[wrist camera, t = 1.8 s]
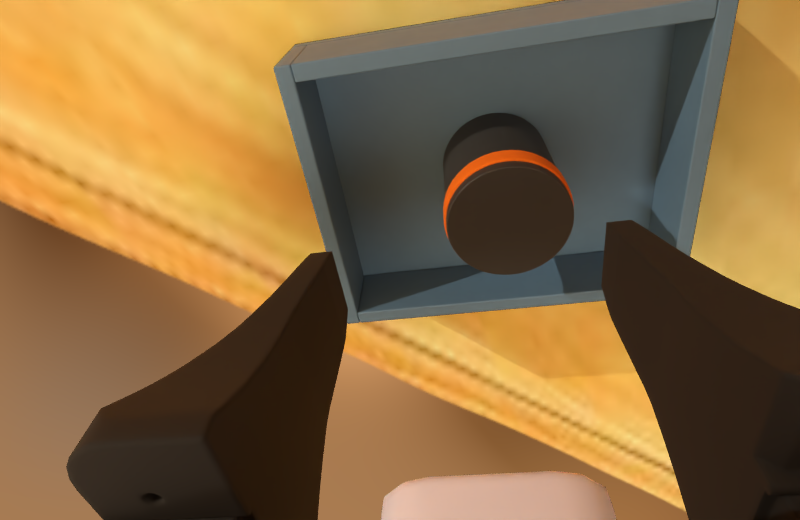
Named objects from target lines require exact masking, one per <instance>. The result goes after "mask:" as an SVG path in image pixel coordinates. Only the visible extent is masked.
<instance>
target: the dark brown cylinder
mask: <svg viewBox="0 0 800 520" xmlns="http://www.w3.org/2000/svg"><path fill="white" fill-rule="evenodd" d="M443 172H444V191H445V199H444V205H443V216H444V227H445V232H446V234H447V237H448V239H449V242H450V244H451V246H452V248H453V250H454V251H455V252H456V254H457V255H458V256H459V257H460V258H461V259H462V260H463V261H464V262H466V263H467V264H468V265H470V266H472V267H474V268H475V269H478V270H480V271H483V272H487V273H491V274H498V275H512V274H519V273H523V272H527V271H530V270H532V269H535V268H537V267H539V266H541V265H543V264H544V263H546V262H548V261H549V260H550V259H552V258H553V257H554V256H555V255H556V254H557V253H558V252H559V251H560V250H561V249H562V247H563V246H564V245H565V243H566V242H567V240H568V238H569V236H570V234H571V231H572V228H573V224H574V203H573V198H572V194H571V191H570V189H569V186H568V184H567V182H566V180H565V179H564V177H563V175H562V173H561V172H560V171H559V170H558V168H557V167H556V165H555V163H554V161H553V159H552V157H551V155H550V153H549V151H548V149H547V147H546V145H545V143H544V140H543V138H542V137H541V135H540V133H539V132H538V131H537V129H536V128H535V127H534V126H533V125H532V124H531V123H529V122H528V121H526V120H525V119H523V118H521V117H519V116H516V115H513V114H507V113H490V114H485V115H482V116H479V117H476V118H474V119H472V120H470V121H469V122H467V123H466V124H464V125H463V126H462V127H461V128H459V129H458V130H457V132H456V133H455V134H454V135H453V136H452V138H451V139H450V141H449V143H448V145H447V147H446V150H445V154H444V159H443Z"/></svg>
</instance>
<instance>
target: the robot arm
mask: <svg viewBox="0 0 800 520" xmlns="http://www.w3.org/2000/svg"><path fill="white" fill-rule="evenodd" d="M601 287H602V290H603V293H604V297H605V300H606V303H607V307H608V310H609V313H610V316H611V319H612V321H613V323H614V325H615V327H616V329H617V331H618V334H619V336H620V338H621V340H622V342H623V344H624V346H625V348H626V350H627V352H628V354H629V356H630V358H631V361H632V363H633V365H634V367H635V369H636V371H637V373H638V375H639V377H640V379H641V381H642V383H643V385H644V387H645V390H646V392H647V394H648V397H649V399H650V401H651V404H652V407H653V409H654V412H655V415H656V418H657V421H658V424H659V427H660V429H661V432H662V435H663V438H664V441H665V444H666V447H667V450H668V453H669V457H670V460H671V463H672V466H673V469H674V472H675V475H676V478H677V482H678V485H679V488H680V492H681V495H682V498H683V502H684V505H685V508H686V512H687V515H688V518H689V520H800V309H798V308H795V307H793V306H790V305H787V304H785V303H782V302H780V301H777V300H775V299H772V298H770V297H767V296H765V295H763V294H761V293H758V292H756V291H754V290H752V289H750V288H747V287H745V286H743V285H741V284H739V283H737V282H735V281H733V280H731V279H729V278H727V277H725V276H723V275H721V274H719V273H718V272H716V271H714V270H712V269H710V268H708V267H706V266H705V265H703V264H701V263H700V262H698V261H696V260H694V259H693V258H691V257H689V256H688V255H686V254H685V253H683V252H681V251H680V250H678V249H677V248H675V247H673V246H672V245H670V244H669V243H667V242H666V241H664V240H663V239H661V238H660V237H658V236H657V235H655V234H654V233H652V232H650V231H649V230H647V229H646V228H644V227H643V226H641V225H640V224H638V223H636V222H635V221H633V220H624V221H615V222H606V234H605V246H604V259H603V271H602V283H601ZM347 316H348V307H347V303H346V300H345V296H344V292H343V289H342V285H341V282H340V278H339V274H338V271H337V267H336V264H335V260H334V256H333V253H332V251H331V252H321V253H312V254H310V255H309V256H308V257H307V258H306V259H305V260H304V261H303V262H302V263H301V264H300V265H299V266H298V267H297V268H296V270H295V271H294V272H293V273H292V274H291V275H290V276H289V277H288V278H287V279H286V280H285V281H284V283H283V284H282V285H281V286H280V287H279V288H278V289H277V290H276V291H275V292H274V293H273V294H272V295H271V296H270V297H269V298H268V299H267V300H266V301H265V302H264V303H263V304H262V305H261V306H260V307H259V308H258V309H257V310H256V311H255V312H254V313H253V314H252V315H251V316H249V318H247V319H246V320H245V321H244V322H243V323H242V324H241V325H239V326H238V327H237V328H236V329H235V330H233V331H232V332H231V333H230V334H228V335H227V336H226V337H225V338H223V339H222V340H221V341H219V342H218V343H217V344H216V345H214V346H212V347H211V348H210V349H208V350H207V351H205V352H204V353H202V354H201V355H199V356H198V357H196V358H195V359H193V360H192V361H190V362H189V363H187V364H186V365H184V366H183V367H181V368H179V369H177V370H176V371H174V372H173V373H171V374H169V375H167V376H166V377H164V378H162V379H160V380H158V381H157V382H155V383H153V384H151V385H149V386H147V387H145V388H143V389H142V390H140V391H137V392H135V393H133V394H131V395H129V396H127V397H125V398H123V399H121V400H118V401H116V402H114V403H112V404H110V405H108V406H106V407H103V408H101V409H100V411H99V412H98V414H97V415H96V417H95V418H94V420H93V421H92V423H91V425H90V426H89V428H88V429H87V431H86V432H85V434H84V435H83V437H82V438H81V440H80V441H79V443H78V445H77V446H76V448H75V449H74V451H73V452H72V454H71V455H70V457H69V460H68V463H67V466H66V467H67V471H68V476H69V479H70V481H71V482H72V484H73V485H74V486H75V488H76V489H77V491H78V492H79V493H80V494H81V495H82V496H83V497H84V499H85V500H86V501H87V502H88V503H89V504H90V505H91V506H92V508H93V509H94V510H95V511H96V512H97V513H98V514H99V515H100V516H101V518H102V519H103V520H317V519H318V506H319V493H320V481H321V472H322V461H323V452H324V444H325V435H326V426H327V419H328V415H329V409H330V404H331V400H332V396H333V392H334V388H335V383H336V379H337V375H338V371H339V366H340V362H341V358H342V353H343V349H344V344H345V339H346V329H347ZM381 520H617V519H616V515H615V512H614V509H613V506H612V502H611V500H610V497H609V494H608V492H607V489H606V487H604V486H603V485H601V484H599V483H597V482H595V481H593V480H592V479H590V478H588V477H586V476H584V475H582V474H578V473H569V472H559V471H541V472H522V473H501V474H500V473H499V474H479V475H457V476H435V477H425V478H420V479H416V480H411V481H406V482H404V483H402V484H401V485H399V486H398V487H397V488H395V489H394V490H393V491H391V492H390V493H389V494H387V495H386V496H385V497H384V501H383V507H382V516H381Z"/></svg>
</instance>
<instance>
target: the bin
mask: <svg viewBox="0 0 800 520" xmlns="http://www.w3.org/2000/svg"><path fill="white" fill-rule="evenodd" d="M738 2H739V0H563V1H557V2H551V3H545V4H539V5H533V6H527V7H521V8H515V9H509V10H502V11H496V12H490V13H484V14H478V15H472V16H466V17H460V18H454V19H448V20H441V21H435V22H429V23H423V24H417V25H411V26H405V27H399V28H393V29H386V30H380V31H374V32H368V33H362V34H356V35H350V36H344V37H338V38H332V39H325V40H319V41H313V42H307V43H301V44H295V45H294V46H293V47H292V49H291V50H290V51H289V52H288V53H287V54H286V55H285V56H284V57H283V58H282V59H281V60H280V61H279V62H278V63H277V64H276V65H275V67H274V72H275V75H276V79H277V82H278V86H279V89H280V93H281V96H282V100H283V103H284V106H285V110H286V113H287V117H288V120H289V124H290V127H291V131H292V134H293V138H294V141H295V145H296V148H297V152H298V155H299V158H300V162H301V165H302V169H303V172H304V176H305V179H306V183H307V186H308V190H309V193H310V197H311V200H312V203H313V207H314V210H315V214H316V217H317V221H318V224H319V228H320V231H321V235H322V238H323V242H324V245H325V248H326V252H331V251H332V253H333V256H334V260H335V264H336V267H337V271H338V274H339V278H340V282H341V285H342V289H343V292H344V296H345V300H346V303H347V307H348V316H347V323H348V324H350V323H359V322H372V321H383V320H394V319H405V318H416V317H427V316H438V315H450V314H461V313H472V312H483V311H494V310H505V309H516V308H527V307H538V306H549V305H560V304H572V303H583V302H594V301H605V297H604V293H603V290H602V287H601V283H602V271H603V259H604V246H605V234H606V222H615V221H624V220H633V221H635V222H636V223H638V224H640V225H641V226H643V227H644V228H646V229H647V230H649V231H650V232H652V233H654V234H655V235H657V236H658V237H660V238H661V239H663V240H664V241H666V242H667V243H669V244H670V245H672V246H673V247H675V248H677V249H678V250H680V251H681V252H683V253H685V254H686V255H688V256H689V257H690V253H691V248H692V243H693V238H694V233H695V227H696V222H697V217H698V212H699V206H700V201H701V196H702V191H703V185H704V180H705V175H706V170H707V164H708V159H709V154H710V149H711V144H712V138H713V133H714V128H715V123H716V117H717V112H718V107H719V102H720V96H721V91H722V86H723V81H724V76H725V70H726V65H727V60H728V55H729V49H730V44H731V39H732V34H733V28H734V23H735V18H736V13H737V8H738ZM490 113H507V114H513V115H516V116H519V117H521V118H523V119H525V120H526V121H528V122H529V123H531V124H532V125H533V126H534V127H535V128H536V129H537V131H538V132H539V133H540V135H541V137H542V138H543V140H544V143H545V145H546V147H547V149H548V151H549V153H550V155H551V157H552V159H553V161H554V163H555V165H556V167H557V168H558V170H559V171H560V172H561V173H562V175H563V177H564V179H565V180H566V182H567V184H568V186H569V189H570V191H571V194H572V198H573V203H574V224H573V228H572V231H571V234H570V236H569V238H568V240H567V242H566V243H565V245H564V246H563V247H562V249H561V250H560V251H559V252H558V253H557V254H556V255H555V256H554V257H553V258H552V259H550V260H549V261H548V262H546V263H544V264H543V265H541V266H539V267H537V268H535V269H532V270H530V271H527V272H523V273H519V274H512V275H498V274H491V273H487V272H483V271H480V270H478V269H475V268H474V267H472V266H470V265H468V264H467V263H466V262H464V261H463V260H462V259H461V258H460V257H459V256H458V255H457V254H456V252H455V251H454V250H453V248H452V246H451V244H450V242H449V239H448V237H447V234H446V232H445V227H444V216H443V205H444V199H445V191H444V172H443V159H444V154H445V150H446V147H447V145H448V143H449V141H450V139H451V138H452V136H453V135H454V134H455V133H456V132H457V130H458V129H459V128H461V127H462V126H463V125H464V124H466V123H467V122H469V121H470V120H472V119H474V118H476V117H479V116H482V115H485V114H490Z"/></svg>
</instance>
